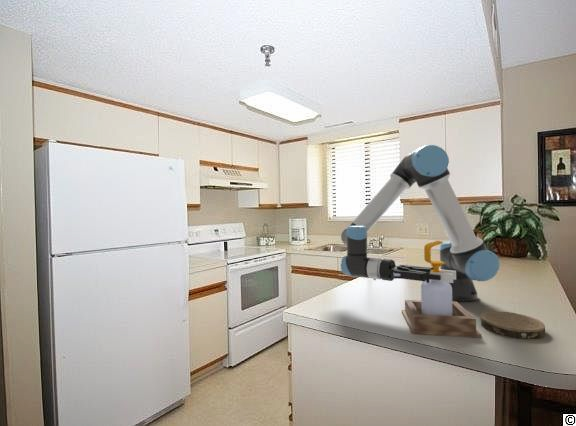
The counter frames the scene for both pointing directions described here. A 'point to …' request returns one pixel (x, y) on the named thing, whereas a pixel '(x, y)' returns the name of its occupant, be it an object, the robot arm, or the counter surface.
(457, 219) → the robot arm
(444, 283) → the soap bottle
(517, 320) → the wood slice
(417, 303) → the walnut caddy
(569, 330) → the counter surface
